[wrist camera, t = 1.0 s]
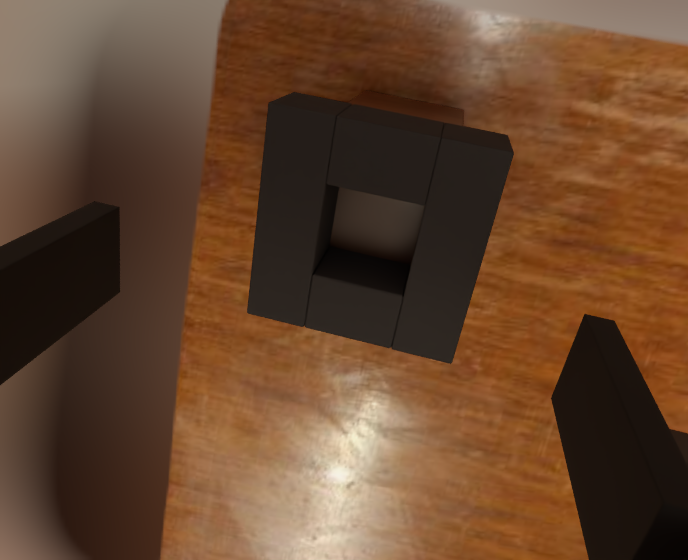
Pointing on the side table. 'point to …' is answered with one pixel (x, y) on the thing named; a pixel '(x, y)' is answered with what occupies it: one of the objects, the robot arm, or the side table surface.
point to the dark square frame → (383, 180)
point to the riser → (381, 212)
